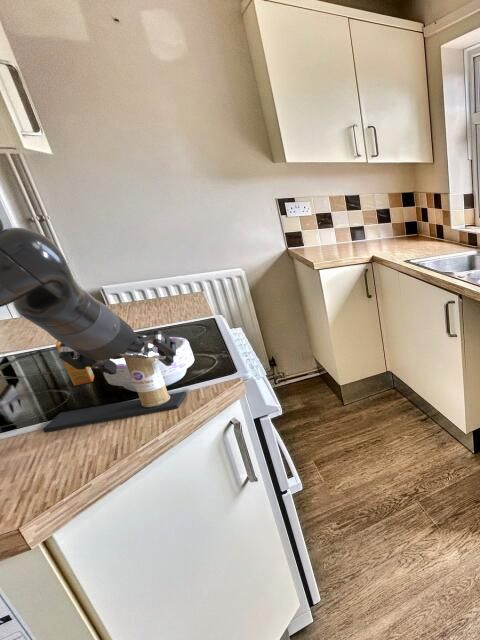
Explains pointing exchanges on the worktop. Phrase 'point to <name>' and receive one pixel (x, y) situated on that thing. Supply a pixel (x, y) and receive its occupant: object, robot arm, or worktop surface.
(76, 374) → the supplement box
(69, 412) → the strip
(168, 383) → the paper bowls
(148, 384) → the sprinkles bottle
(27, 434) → the worktop surface
